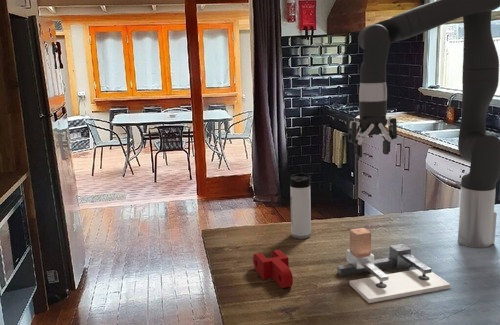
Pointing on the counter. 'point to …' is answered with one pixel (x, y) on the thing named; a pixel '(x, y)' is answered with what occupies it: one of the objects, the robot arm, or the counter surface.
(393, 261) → the gray bar frame
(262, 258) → the mechanical linkage
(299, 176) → the travel mug
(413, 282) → the bolt plate
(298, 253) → the counter surface
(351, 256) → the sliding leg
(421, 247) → the counter surface
